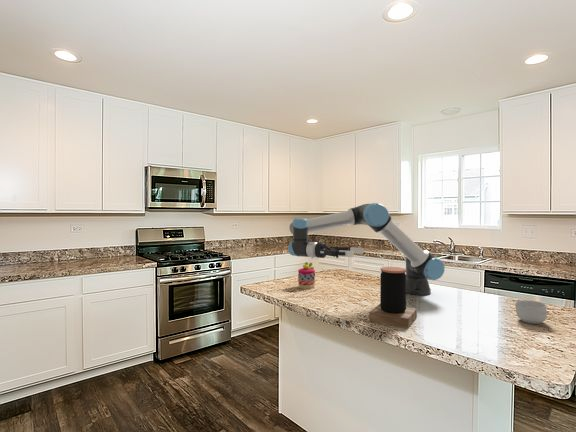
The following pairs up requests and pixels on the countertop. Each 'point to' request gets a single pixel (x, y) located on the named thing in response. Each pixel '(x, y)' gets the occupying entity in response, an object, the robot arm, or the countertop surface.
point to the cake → (306, 277)
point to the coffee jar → (393, 290)
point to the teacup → (531, 311)
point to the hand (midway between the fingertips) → (358, 252)
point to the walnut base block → (393, 317)
